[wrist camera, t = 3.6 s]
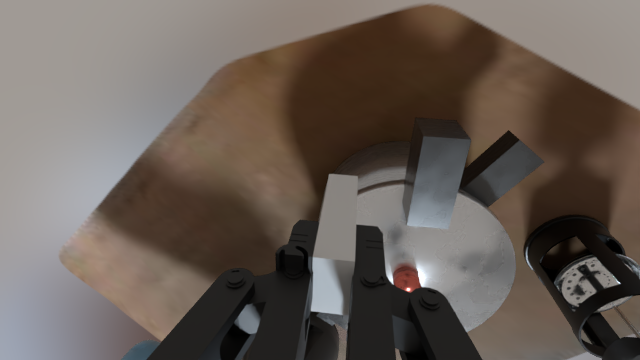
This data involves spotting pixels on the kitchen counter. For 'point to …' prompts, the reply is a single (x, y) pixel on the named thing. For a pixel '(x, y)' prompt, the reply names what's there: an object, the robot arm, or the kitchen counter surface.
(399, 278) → the lid
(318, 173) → the kitchen counter surface
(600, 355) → the french press
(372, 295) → the robot arm
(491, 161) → the pressure cooker pot
